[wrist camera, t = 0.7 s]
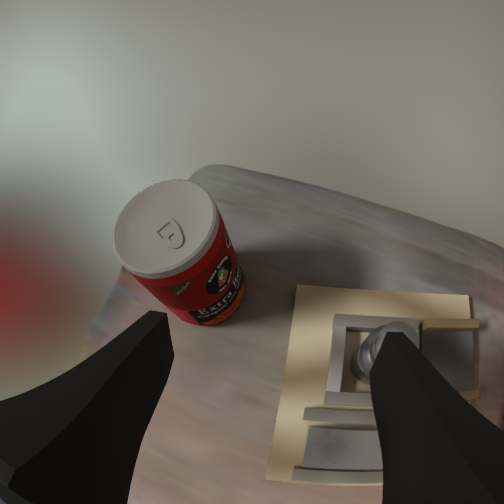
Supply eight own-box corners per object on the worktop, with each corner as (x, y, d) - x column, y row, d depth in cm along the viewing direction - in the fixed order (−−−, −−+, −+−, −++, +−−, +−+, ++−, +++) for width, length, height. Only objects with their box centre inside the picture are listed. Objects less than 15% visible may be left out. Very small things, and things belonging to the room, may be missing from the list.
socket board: (455, 473, 15) (470, 477, 12) (265, 476, 18) (261, 484, 16) (463, 299, 23) (476, 287, 20) (297, 288, 27) (296, 275, 24)
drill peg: (391, 385, 20) (424, 372, 14) (348, 383, 21) (368, 372, 15) (393, 342, 22) (424, 315, 16) (352, 340, 22) (371, 313, 16)
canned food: (216, 344, 25) (165, 296, 16) (154, 300, 28) (92, 241, 19) (263, 276, 28) (242, 198, 18) (199, 242, 31) (159, 167, 22)
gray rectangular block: (376, 463, 17) (384, 468, 15) (301, 461, 18) (301, 466, 16) (382, 429, 18) (391, 430, 16) (308, 426, 19) (309, 428, 17)
